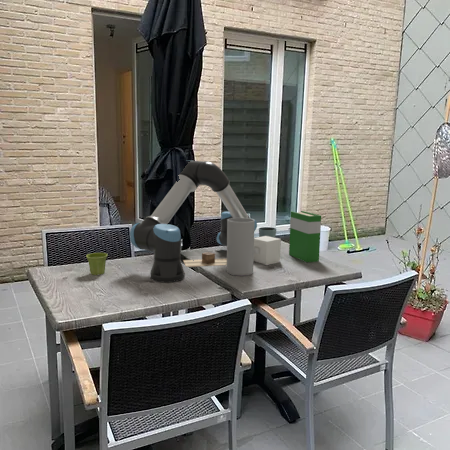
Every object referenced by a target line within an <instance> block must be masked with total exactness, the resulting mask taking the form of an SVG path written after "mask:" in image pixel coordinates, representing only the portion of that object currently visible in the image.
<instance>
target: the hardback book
mask: <svg viewBox="0 0 450 450" xmlns="http://www.w3.org/2000/svg"><path fill="white" fill-rule="evenodd" d="M289 224H290V226H289V244H288V245H289V246H288V247H289V248H288V255H289V256H291V257H294V258H296V259H298V260H299V261H302V262H305V263H314V262H315V263H316V262H320V249H321V248H320V246H321V231H322V230H321V228H322V215H320V214H317V213H316V214H315V213H312V212H308V211H304V210H301V211H300V212H296V211H292V210H291V211H290V223H289Z"/></svg>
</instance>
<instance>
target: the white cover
mask: <svg viewBox="0 0 450 450" xmlns="http://www.w3.org/2000/svg"><path fill="white" fill-rule="evenodd" d="M281 246H282V238H278V237H275V238H274V237H269V236H262V237H259V236H257V237H254V248H258V249H259V254H255V253H254V261H253V262H254V263H255V262H256V263H260V264H262V265H264V266H268V265H273V264H278V263H280V262H281V249H282V248H281Z"/></svg>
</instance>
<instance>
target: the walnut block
mask: <svg viewBox="0 0 450 450" xmlns="http://www.w3.org/2000/svg"><path fill="white" fill-rule="evenodd" d="M215 255H216V253H214V252H210V251H206V252H203V253H201V259H202V262H203V263H206V264H211V263H215V259H216V256H215Z"/></svg>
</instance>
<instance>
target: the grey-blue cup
mask: <svg viewBox="0 0 450 450" xmlns="http://www.w3.org/2000/svg"><path fill="white" fill-rule="evenodd" d="M258 234H259V235H258V237H262V236H269V237H274V238H277V237H276V235H277V228H276V227H271V226H264V227H263V226H262V227H258Z"/></svg>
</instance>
